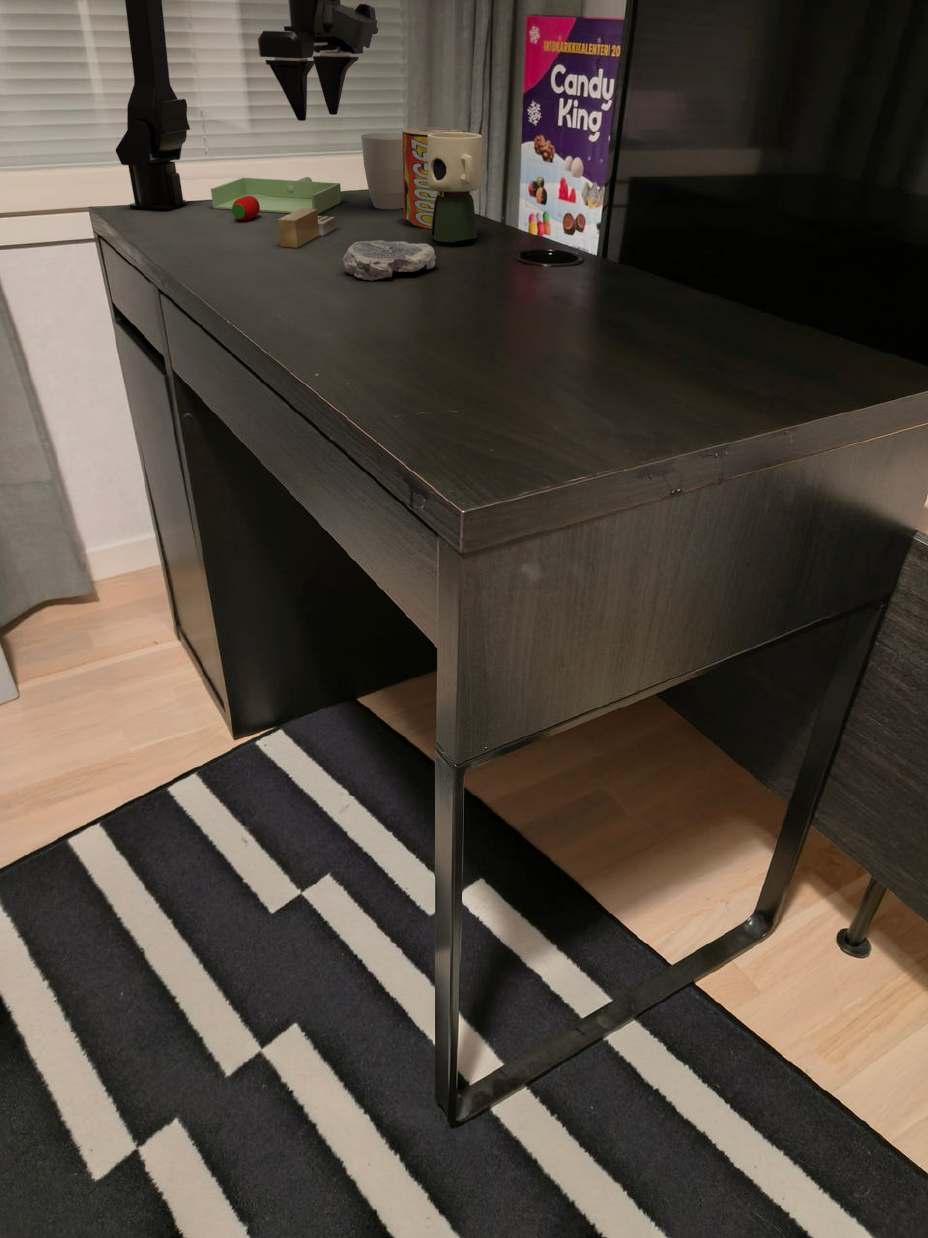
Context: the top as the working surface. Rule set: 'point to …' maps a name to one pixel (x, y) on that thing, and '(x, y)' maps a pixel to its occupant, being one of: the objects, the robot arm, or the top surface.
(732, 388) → the top surface
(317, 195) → the tray
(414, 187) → the beverage can
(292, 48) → the robot arm
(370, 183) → the cup
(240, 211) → the strawberry
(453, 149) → the character mug
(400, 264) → the fossil
